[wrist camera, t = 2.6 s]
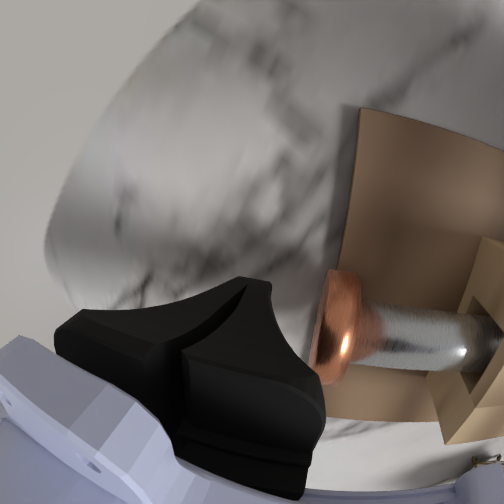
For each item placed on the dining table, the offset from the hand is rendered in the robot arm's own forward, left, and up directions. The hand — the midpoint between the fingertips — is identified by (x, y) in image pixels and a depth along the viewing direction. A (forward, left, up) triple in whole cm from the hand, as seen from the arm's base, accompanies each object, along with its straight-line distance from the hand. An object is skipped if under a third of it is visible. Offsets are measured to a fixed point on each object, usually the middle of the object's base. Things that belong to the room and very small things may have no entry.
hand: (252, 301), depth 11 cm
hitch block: (-11, 0, -2) cm, 11 cm away
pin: (-8, 0, -1) cm, 8 cm away
